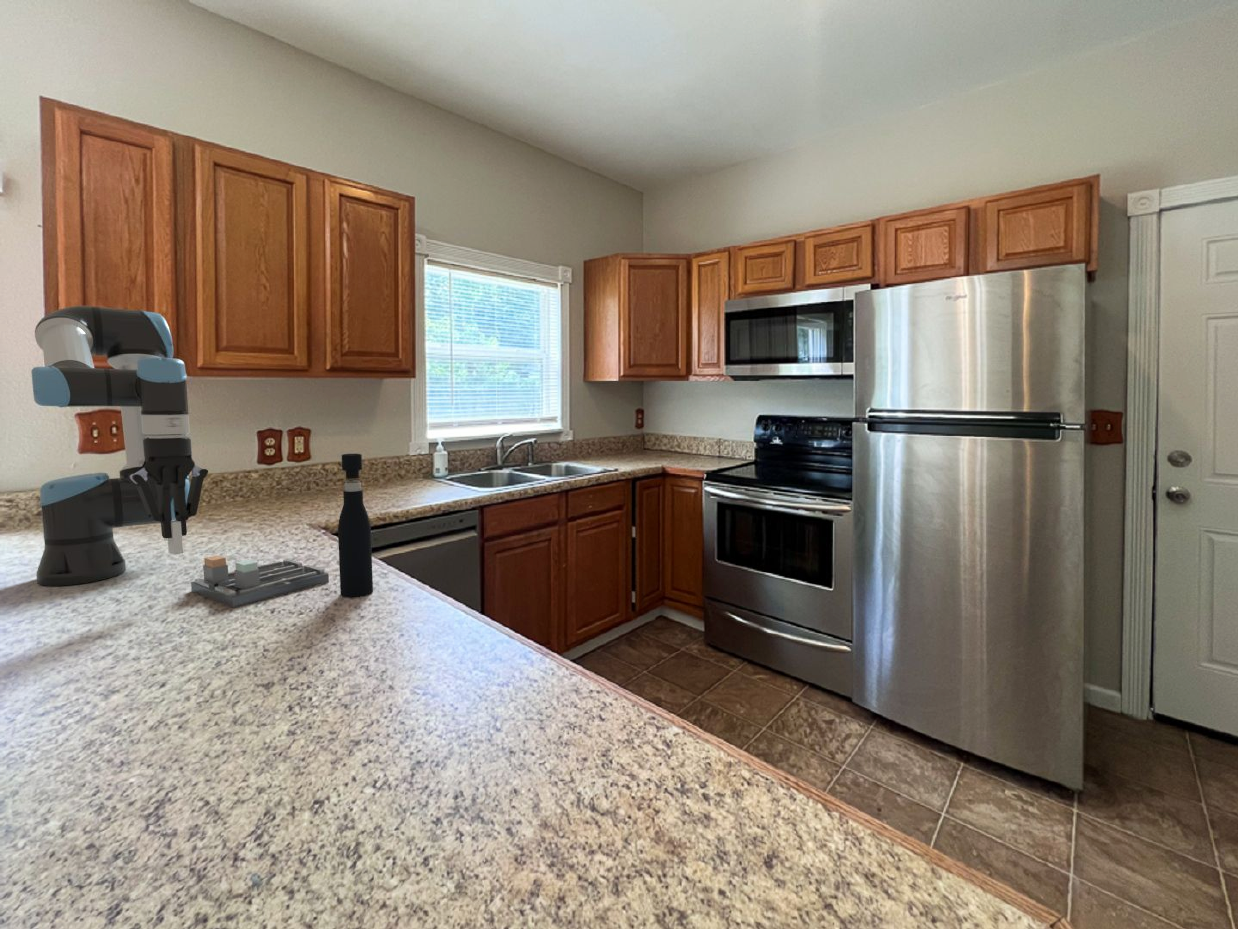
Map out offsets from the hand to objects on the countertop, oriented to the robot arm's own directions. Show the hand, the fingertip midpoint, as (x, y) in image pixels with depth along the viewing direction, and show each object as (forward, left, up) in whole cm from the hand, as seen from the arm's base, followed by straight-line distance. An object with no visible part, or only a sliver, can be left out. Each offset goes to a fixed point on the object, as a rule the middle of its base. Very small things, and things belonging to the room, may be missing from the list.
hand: (175, 552), depth 118 cm
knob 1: (0, +7, -8) cm, 11 cm away
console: (+4, +14, -10) cm, 18 cm away
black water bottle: (+25, +23, -10) cm, 36 cm away
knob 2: (+9, +9, -8) cm, 15 cm away
